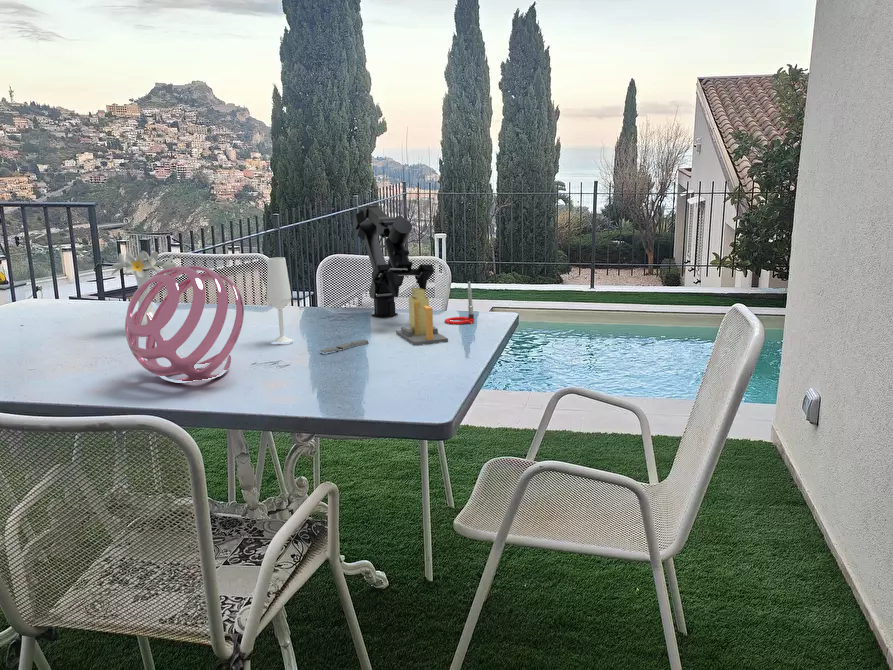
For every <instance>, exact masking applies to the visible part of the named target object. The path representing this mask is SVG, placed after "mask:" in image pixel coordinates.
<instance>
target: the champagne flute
mask: <svg viewBox="0 0 893 670" xmlns="http://www.w3.org/2000/svg"><path fill="white" fill-rule="evenodd" d="M266 281H267V284H266V285H267V286H266V287H267V288H266V299H267V301H268V303H269V304H270V305H271V306H272V307H273V308H275V309H276V310H277V312H278V313H277V314H278V327H279V336H278V337H277V338H276V339H274V340H273V341H275V342H281V343H284V342H290V341H292V340H293V339H291V338H290V337H287V336H285V330H284V329H285V328H284V327H285V326H284V325H285V324H284V316H283V315H284V314H283V309H285V308H286V306H288V304H289V303H290V302H291V300H292V292H291V285H290V278H289V273H288V266H287V261H286V257H282V256H280V257H279V256H278V257H269V258H267V279H266Z"/></svg>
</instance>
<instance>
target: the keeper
mask: <svg viewBox="0 0 893 670" xmlns="http://www.w3.org/2000/svg"><path fill="white" fill-rule="evenodd" d="M423 310H424V311H425V329H426V335H418V336H414V335H413V334H412V331H410V328H409V329H408V328H407V327H401V328H400V330H395V333H396V335H397V336H399V337H400V336H401V337H400V338H401V339H403V338H404V339H403V340H405V339H406V340H407V341H406V340H405V341H406V342H408V341H409V342H410V343H409V342H408V343H409V344H411V343H412V344H413V346H414V345H417V346H422V345H423V344H426V345H432V343H435V344H440V343H439V342H443V343H448V342H449V338H448V337H446V336H444V335H442V333H441V334H440V333H439V329H438V328H437V327H435V326H433V325H434V320H433V318H434V317H433V307H431V306H430V305H429V306H423ZM412 344H411V345H412ZM423 346H424V345H423Z"/></svg>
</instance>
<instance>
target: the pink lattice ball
mask: <svg viewBox="0 0 893 670" xmlns="http://www.w3.org/2000/svg"><path fill="white" fill-rule="evenodd" d="M161 270H162V271H158V273H157V272H156V273H155V274H153V275H152V276H150V277H149V278H148V280H147V281H145V282H144V283H143V284H142V285H141V286H140V287H139V288H138V287H137V289H136V290H135V292H134V293H133V295H132V296H131V299H130V300H129V303H128V306H127V309H126V314H125V315H126V316H125V321H124V333H125V334H124V335H125V338H126V342H127V345H128V348H129V349H130V351H131V354H132V355H133V357H134V358H135V360H136V361H137V362H138V363H139V364H140V365H141V366H142V368H144V369H145V370H147V372H149V373H151V374H154V375H156V376H157V375H158V376H167V377H168V376H173V375H177V374H182V375H183V374H184V375H186V376H187V377H184V378H179V379H178V378H176V379H177V380H182V381H193V380H202V379H208V378H212V377H216V376H217V375H219V373H217V374H212V373H213V372H214V371H216V370H217V369H218V368H219V367H220V366H221V365H222V364H223V362H225V360H226V359H227V360H226V363H225V365H224V367H223V369H224V370H227V369H228V368H229V369H230V367H231V364H232V363H231V362H232V356H231V355H230V354H231V353H232V351H233V349H234V348H235V345H236V343H237V342H238V339H239V337H240V334H241V331H242V328H243V323H244V315H245V305H244V301H243V296H242V294H241V292H240V290H239V288H238V287H237V286H236V284H235V283H234V282H233V281H232V280H231V279H230V278H228V277H226V276H224V275H223V274H221V273H217V272H215V271H214V270H212V269H210V268H208V267H205V266H201V265H199V266H198V265H189V266H182V265H178V266H177V265H176V266H175V267H170V268H167V269H164V268H163V269H161ZM197 271H201V272H202V273H198V272H197ZM168 272H171V273H169V274H168V275H166V273H168ZM183 274H185V275H186V277H188V278H186V279H184V280H183V281H181V282H180V283H178V281H177V279H176V278H177V277H179V276H181V275H183ZM209 280H212V281H213V282H214V285H215V288H216V292H217V295H216V296H217V304H216V310H215V314H214V317H213V320H212V323H211V326H210V327H209V329H208V331H207V333H206V334H205V336H204V338H203V339H202V341H201V342H200V343H199V344H198V346H197V347H196V348H195V349H194V350H193V351H192V352H191V353H190V354H188V355H187V356H186V357H180V355H178V354H177V350H178V349H179V348H180V347H181V346H182V345H183V344H185V342H186V341H187V340H188V339H189V338H190V336H191V335H192V333H193V332H194V331H195V329H196V328H197V326H198V323H199V322H200V320H201V318H202V314H203V312H204V307H205V302H206V287H205V283H204V281H209ZM154 283H155V285H153V286H152V288H151V289H149V293H148V294H147V295H146V297H145V298H144V300H143V301H142V303H141V305H140V307H139V309H138V308H137V309H138V311H137V310H136V311H135V307H136V306H137V305H138V303H139V298H140V297H141V295H142V294H143V292H144V291H145V290H146V289H147V287H148V288H149V286H151V284H154ZM225 283H226V284H228V285H229V287H230V288H231V289H232V292H233V294H234V297H235V303H236V311H235V319H234V323H233V326H232V330H231V333H230V334H229V337H228V338H227V340H226V343H225V344H224V346H223V347H222V349H221V350H220V352H218V353H216V354H215V355H214V356H212V357H209V358H207V359H206V360H203V361H200V360H202V359H203V358H204V357H205V355H206V354H207V353H209V351H210V350H211V348H212V347H213V346H214V344H215V343H216V341H217V339H218V338H219V336H220V334H221V332H222V329H223V328H224V324H225V322H226V318H227V313H228V307H229V297H228V291H227V290H228V289H227V287H226V284H225ZM164 287H166V292H167V294H166V296H165V297H164V298H163V300H162V301H161V302H160V303H159V304H158V307H156V309H155V310H156V312H155V314H154V316H153V318H151V316H150V314H149V313H148V312H147V313H146V316H147V324H146V325H141V323H142V320H143V317H144V315H145V312H146V310H147V308H148V307H149V305H150V303H152V301H153V300H154V299H155V297H156V296H157V295H158V293H160V291H161V290H163V288H164ZM190 288H192V302H191V306H190V309H189V312H188V314H187V315H186V316H187V317H186V319H185V321H184V322H183V324H182V325H181V326H180V328H179V329H178V330H177V332H175V334H174V335H173V336H172V337H170V338H169V339H167V340H166V339H164V338H163V336H162V335H161V330H163V328H164V327H165V326H166V325H167V324H168V323H169V322H170V320H171V319H172V318H173V316H174V314H175V312H176V310H177V308H178V304H179V301H180V296H181V295H182V294H183V293H184V292H185V291H187V290H188V289H190ZM134 311H135V312H134ZM133 312H134V313H133ZM145 337H146V340H145V348H141V347H139V339H140V338H145ZM162 358H163V359H166V360H168V361H169V362H170V365H169V366H163V365H160V364H159V363H158V360H157V359H162ZM199 361H200V362H199ZM205 363H209V364H207V365H206V367H205V366H204V368H202V369H201V368H200V369H195V368H194V365H195V364H205ZM229 369H228V370H229ZM158 376H157V377H158Z"/></svg>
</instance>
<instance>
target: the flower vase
mask: <svg viewBox="0 0 893 670" xmlns="http://www.w3.org/2000/svg"><path fill="white" fill-rule="evenodd" d="M124 255H125V256H124ZM158 258H159V252H157V251H153V252H152V253H151V254H150V255H149V254H148V252H146V251H145V250H141V252H140V253H139V254H137V256H136V257H134V256H133V254H132V252H130V251H127V252H126V254H124V252H123V253H121V252H120V253H119V254H118V256H117V261H118V262H115V263H114V264H113V265H112V266H111V269H114V270H113V271H112V272H111V276H113V275H115V274H116V273H117V272H118V271H120V270H121V269H124V274H125V276H126V277H129V276H130V275H131V274H133V275H134V277H135V279H136V284H137V289H138V288H139V287H140V286H141V285H142V284H143V283H144V282H145V281H147V280H148V279H149V274H150V271H149V270H152V271H153V272H156V273H158V272H160V271H162V270H164V269H167V268H170V267H176V266H177V264H176V263H175V262H172V261H173V259H174V254H171V255H170V256H169V258H168V259H167V261H166V262H163V261H162V260H157V259H158ZM160 267H161V268H162V269H161V268H160ZM171 272H172V271H171ZM171 272H168V273H165V275H168V274H169V273H171ZM149 291H150V288H149V286H148V287H147V289H146V290H145V291H144V292H143V294H142V295H141V297H140V298H139V300H138V304H137V305H138V306H137V309H136V311H138V309H139V307H140V305H141V303H142V301H143V300H144V298H145V297H146V295H147V294H148V293H149ZM156 310H157V309H155V307H154V306H153V303H152V302H151V303H150V305H149V307H148V308H147V310H146V312H145V315H144V317H143V320H142V323H141V325H146V324H147V316H146V313H147V312H148V313H149V314H150V316H151V318H153V316H154V314H155V312H156Z"/></svg>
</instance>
